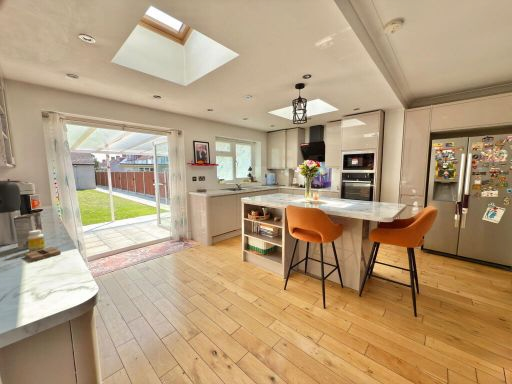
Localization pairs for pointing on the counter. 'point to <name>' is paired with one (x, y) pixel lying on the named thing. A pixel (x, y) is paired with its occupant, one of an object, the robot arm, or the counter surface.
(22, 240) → the coffee box
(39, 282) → the counter surface
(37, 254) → the walnut trivet
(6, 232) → the robot arm
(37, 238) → the supplement bottle
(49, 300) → the counter surface
